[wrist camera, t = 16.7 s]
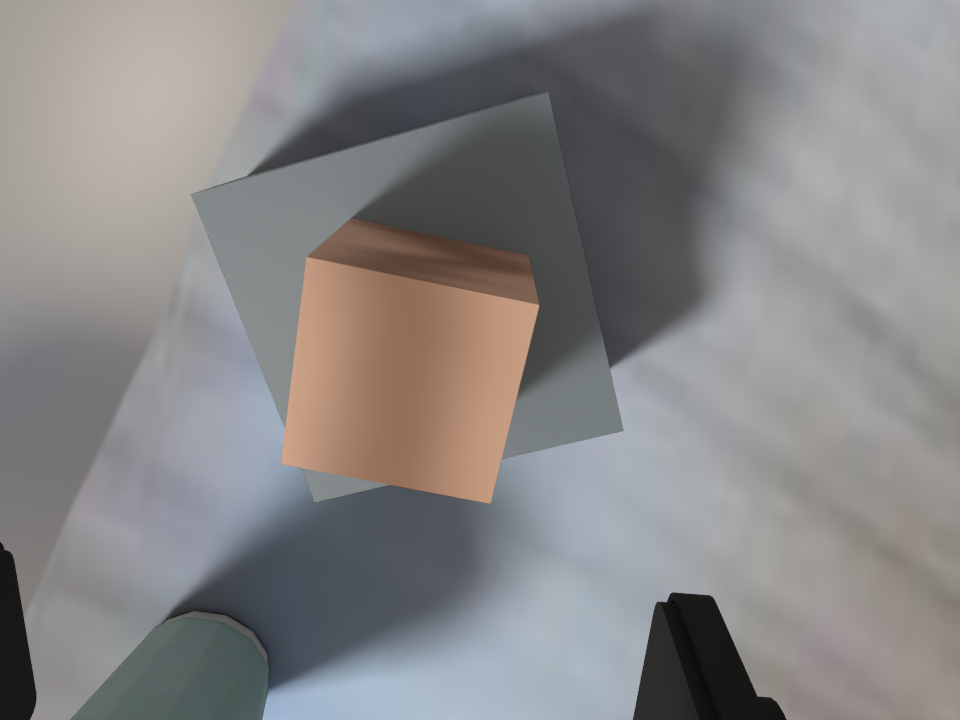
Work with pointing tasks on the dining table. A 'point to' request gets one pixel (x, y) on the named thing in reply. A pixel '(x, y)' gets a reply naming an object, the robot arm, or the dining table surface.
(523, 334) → the terracotta cube
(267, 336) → the slate box
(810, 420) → the dining table surface
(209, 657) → the disposable coffee cup
